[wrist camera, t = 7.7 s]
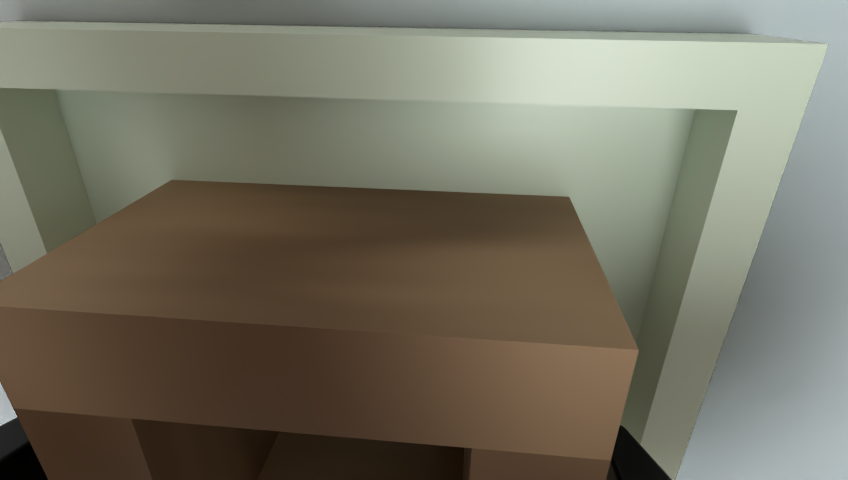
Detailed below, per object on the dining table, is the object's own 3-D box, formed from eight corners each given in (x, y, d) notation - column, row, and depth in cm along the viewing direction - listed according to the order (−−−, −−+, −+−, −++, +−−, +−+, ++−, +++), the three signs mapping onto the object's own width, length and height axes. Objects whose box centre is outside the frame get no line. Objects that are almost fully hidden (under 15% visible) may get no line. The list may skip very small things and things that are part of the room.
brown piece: (569, 196, 8) (639, 349, 5) (520, 522, 12) (538, 744, 8) (171, 179, 9) (-38, 303, 5) (244, 494, 13) (151, 691, 9)
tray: (609, 533, 13) (629, 611, 11) (170, 488, 14) (129, 554, 12) (752, 33, 7) (828, 43, 6) (18, 21, 8) (-90, 26, 7)
